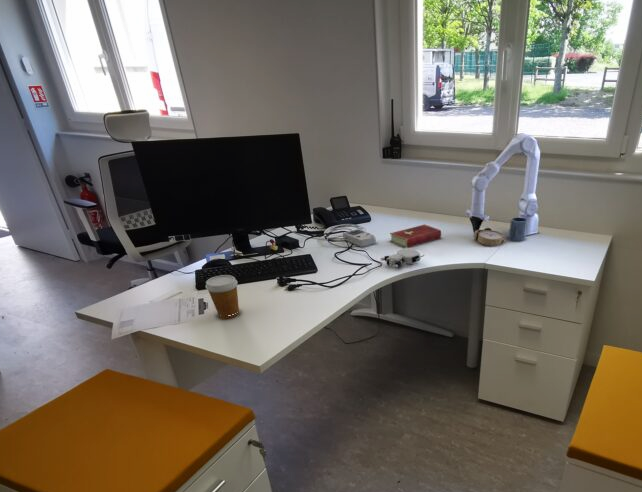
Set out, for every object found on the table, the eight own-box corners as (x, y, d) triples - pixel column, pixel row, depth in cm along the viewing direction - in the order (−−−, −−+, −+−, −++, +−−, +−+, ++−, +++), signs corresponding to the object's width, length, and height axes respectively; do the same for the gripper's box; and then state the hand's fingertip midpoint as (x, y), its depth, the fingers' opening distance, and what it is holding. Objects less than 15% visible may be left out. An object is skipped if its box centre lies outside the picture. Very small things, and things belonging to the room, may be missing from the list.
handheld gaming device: (361, 248, 202) (361, 239, 200) (343, 240, 212) (342, 231, 210) (377, 244, 207) (377, 235, 205) (358, 236, 217) (358, 228, 215)
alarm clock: (490, 241, 200) (469, 227, 209) (487, 251, 204) (467, 236, 213) (508, 236, 206) (487, 223, 215) (506, 246, 209) (485, 232, 218)
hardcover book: (441, 238, 213) (441, 229, 211) (406, 248, 202) (406, 239, 200) (424, 232, 221) (424, 223, 219) (390, 241, 210) (390, 232, 207)
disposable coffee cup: (218, 308, 152) (209, 275, 146) (247, 307, 153) (239, 274, 147) (209, 321, 144) (200, 287, 138) (240, 320, 145) (232, 286, 139)
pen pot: (516, 235, 217) (519, 216, 212) (527, 239, 212) (530, 220, 207) (505, 238, 214) (507, 218, 209) (516, 242, 208) (518, 222, 204)
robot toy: (396, 274, 179) (426, 263, 186) (395, 263, 176) (425, 252, 183) (379, 265, 187) (408, 254, 194) (378, 254, 185) (407, 244, 191)
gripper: (461, 201, 211) (459, 230, 219) (481, 208, 201) (479, 238, 208) (473, 199, 215) (471, 227, 222) (493, 206, 204) (490, 235, 211)
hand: (475, 232), depth 215 cm, fingers closed
